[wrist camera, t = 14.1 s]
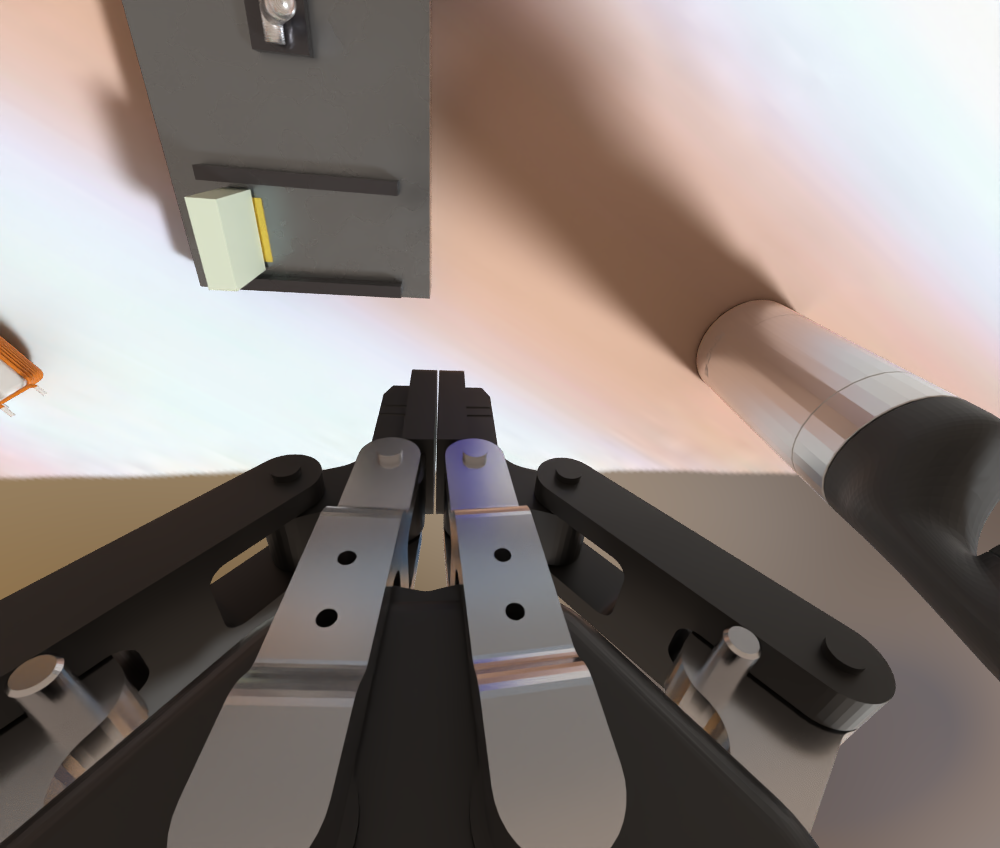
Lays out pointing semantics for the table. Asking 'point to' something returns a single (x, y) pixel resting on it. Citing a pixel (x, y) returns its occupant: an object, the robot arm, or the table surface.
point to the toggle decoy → (276, 18)
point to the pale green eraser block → (226, 237)
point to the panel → (302, 133)
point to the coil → (16, 374)
